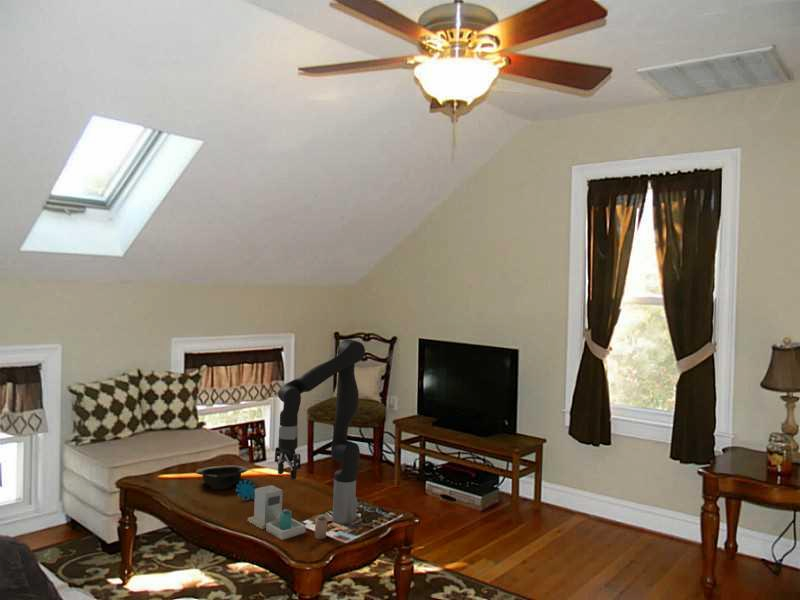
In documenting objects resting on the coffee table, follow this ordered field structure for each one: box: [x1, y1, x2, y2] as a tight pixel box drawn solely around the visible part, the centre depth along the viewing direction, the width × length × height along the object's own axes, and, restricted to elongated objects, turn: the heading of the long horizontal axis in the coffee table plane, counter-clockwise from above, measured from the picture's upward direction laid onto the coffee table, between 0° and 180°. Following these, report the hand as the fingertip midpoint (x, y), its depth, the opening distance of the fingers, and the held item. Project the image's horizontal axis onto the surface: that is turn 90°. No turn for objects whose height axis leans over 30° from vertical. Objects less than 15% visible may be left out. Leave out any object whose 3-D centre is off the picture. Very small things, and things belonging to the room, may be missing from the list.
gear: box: [235, 479, 257, 501], centre depth 297 cm, size 11×6×10 cm
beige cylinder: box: [314, 515, 328, 540], centre depth 256 cm, size 4×4×8 cm
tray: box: [265, 518, 307, 541], centre depth 260 cm, size 11×11×3 cm
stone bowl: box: [195, 464, 250, 491], centre depth 314 cm, size 25×25×9 cm
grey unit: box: [247, 484, 283, 530], centre depth 269 cm, size 12×11×14 cm
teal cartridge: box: [280, 508, 293, 531], centre depth 259 cm, size 4×4×8 cm
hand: (286, 476), depth 261 cm, fingers open, 8 cm apart
